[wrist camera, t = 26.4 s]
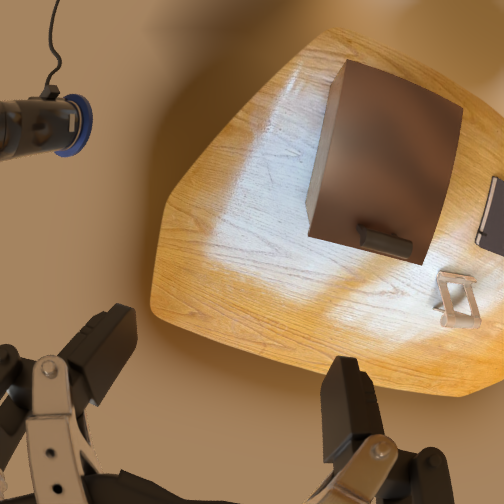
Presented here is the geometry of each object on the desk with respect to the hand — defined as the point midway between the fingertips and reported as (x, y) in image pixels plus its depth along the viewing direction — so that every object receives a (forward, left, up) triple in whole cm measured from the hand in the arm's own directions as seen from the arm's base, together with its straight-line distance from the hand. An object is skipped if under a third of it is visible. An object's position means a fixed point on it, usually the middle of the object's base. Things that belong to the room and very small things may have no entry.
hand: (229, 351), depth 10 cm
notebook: (+28, +38, -32) cm, 57 cm away
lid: (+2, +14, -20) cm, 25 cm away
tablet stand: (+31, +18, -32) cm, 48 cm away
